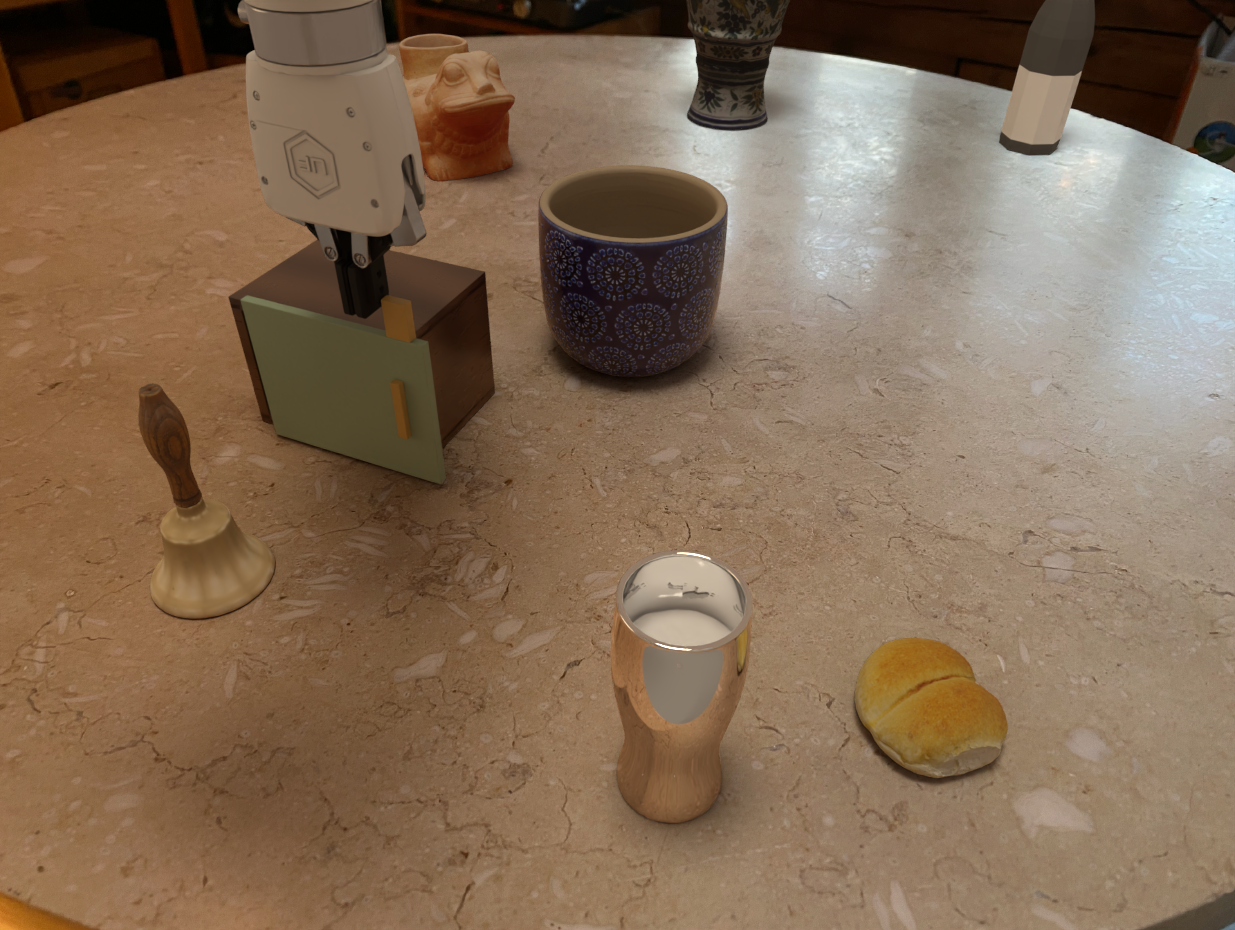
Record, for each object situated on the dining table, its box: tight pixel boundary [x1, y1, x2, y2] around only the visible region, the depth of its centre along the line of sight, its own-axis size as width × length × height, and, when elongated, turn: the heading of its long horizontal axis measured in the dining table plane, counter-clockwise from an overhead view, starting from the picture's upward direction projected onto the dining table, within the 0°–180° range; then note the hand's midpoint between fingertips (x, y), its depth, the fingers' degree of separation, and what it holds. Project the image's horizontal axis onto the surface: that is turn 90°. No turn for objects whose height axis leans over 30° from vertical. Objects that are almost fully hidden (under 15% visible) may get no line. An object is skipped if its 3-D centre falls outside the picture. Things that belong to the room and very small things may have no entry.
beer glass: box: [609, 549, 754, 824], centre depth 49 cm, size 7×7×15 cm
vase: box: [685, 0, 791, 131], centre depth 133 cm, size 17×17×30 cm
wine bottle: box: [998, 0, 1096, 156], centre depth 125 cm, size 8×8×30 cm
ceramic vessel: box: [398, 33, 516, 182], centre depth 124 cm, size 14×26×15 cm, turn 30°
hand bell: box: [137, 383, 276, 620], centre depth 61 cm, size 8×8×16 cm
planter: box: [537, 164, 729, 378], centre depth 86 cm, size 17×16×15 cm
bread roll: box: [854, 637, 1009, 779], centre depth 56 cm, size 8×9×4 cm
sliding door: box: [241, 295, 447, 485], centre depth 71 cm, size 1×16×16 cm, turn 67°
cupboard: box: [227, 238, 496, 449], centre depth 78 cm, size 12×16×12 cm
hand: (367, 307), depth 66 cm, fingers closed
